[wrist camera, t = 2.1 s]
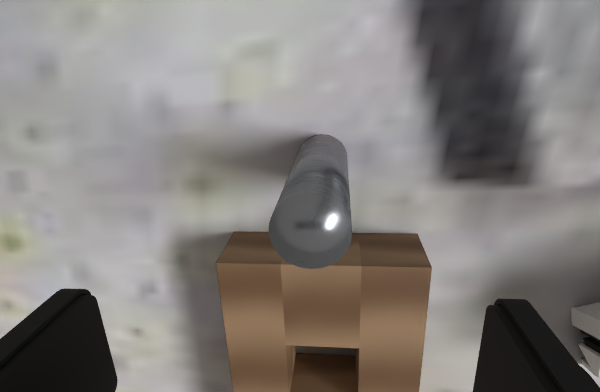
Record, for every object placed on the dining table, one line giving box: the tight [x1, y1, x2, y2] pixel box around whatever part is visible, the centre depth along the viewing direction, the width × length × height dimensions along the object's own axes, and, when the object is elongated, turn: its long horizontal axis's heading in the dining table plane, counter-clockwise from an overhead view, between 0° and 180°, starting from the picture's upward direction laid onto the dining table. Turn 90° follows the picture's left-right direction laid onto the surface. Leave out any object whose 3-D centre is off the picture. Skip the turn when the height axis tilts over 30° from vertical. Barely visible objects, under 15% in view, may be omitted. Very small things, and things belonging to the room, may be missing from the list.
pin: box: [269, 135, 352, 269], centre depth 18 cm, size 3×3×10 cm
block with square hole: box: [216, 232, 432, 392], centre depth 26 cm, size 16×12×4 cm
